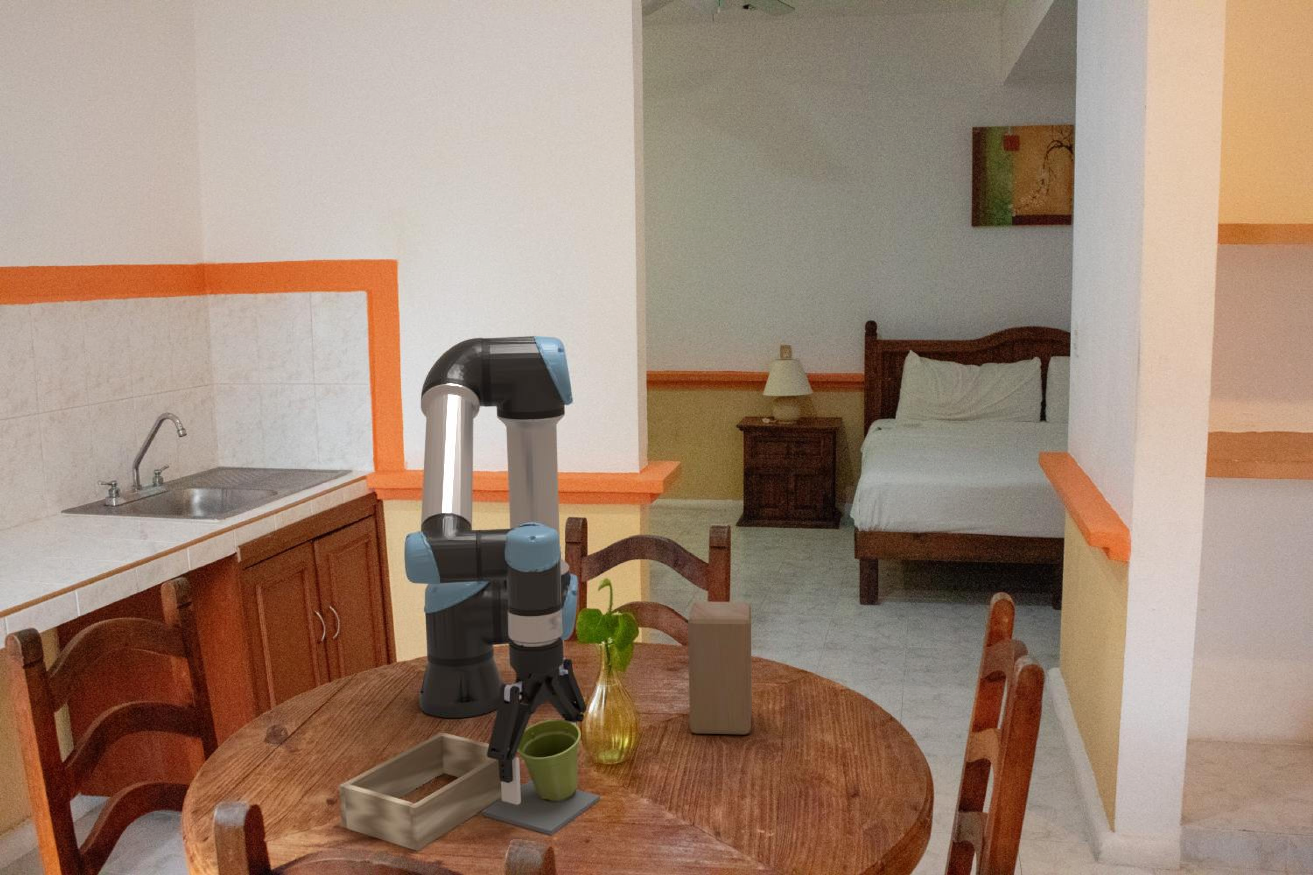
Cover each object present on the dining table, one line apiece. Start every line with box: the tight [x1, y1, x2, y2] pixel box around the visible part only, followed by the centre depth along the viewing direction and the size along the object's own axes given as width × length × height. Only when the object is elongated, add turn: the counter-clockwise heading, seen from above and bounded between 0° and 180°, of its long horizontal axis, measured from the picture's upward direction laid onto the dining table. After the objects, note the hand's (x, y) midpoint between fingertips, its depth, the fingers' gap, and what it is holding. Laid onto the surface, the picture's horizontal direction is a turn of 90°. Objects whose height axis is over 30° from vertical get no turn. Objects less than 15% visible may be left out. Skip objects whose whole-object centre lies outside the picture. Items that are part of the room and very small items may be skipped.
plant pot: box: [516, 719, 582, 801], centre depth 165 cm, size 9×9×9 cm
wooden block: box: [687, 601, 753, 735], centre depth 191 cm, size 10×10×20 cm
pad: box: [481, 778, 601, 836], centre depth 163 cm, size 12×12×1 cm
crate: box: [338, 731, 509, 852], centre depth 164 cm, size 14×21×6 cm, turn 149°
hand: (540, 782), depth 163 cm, fingers open, 13 cm apart
